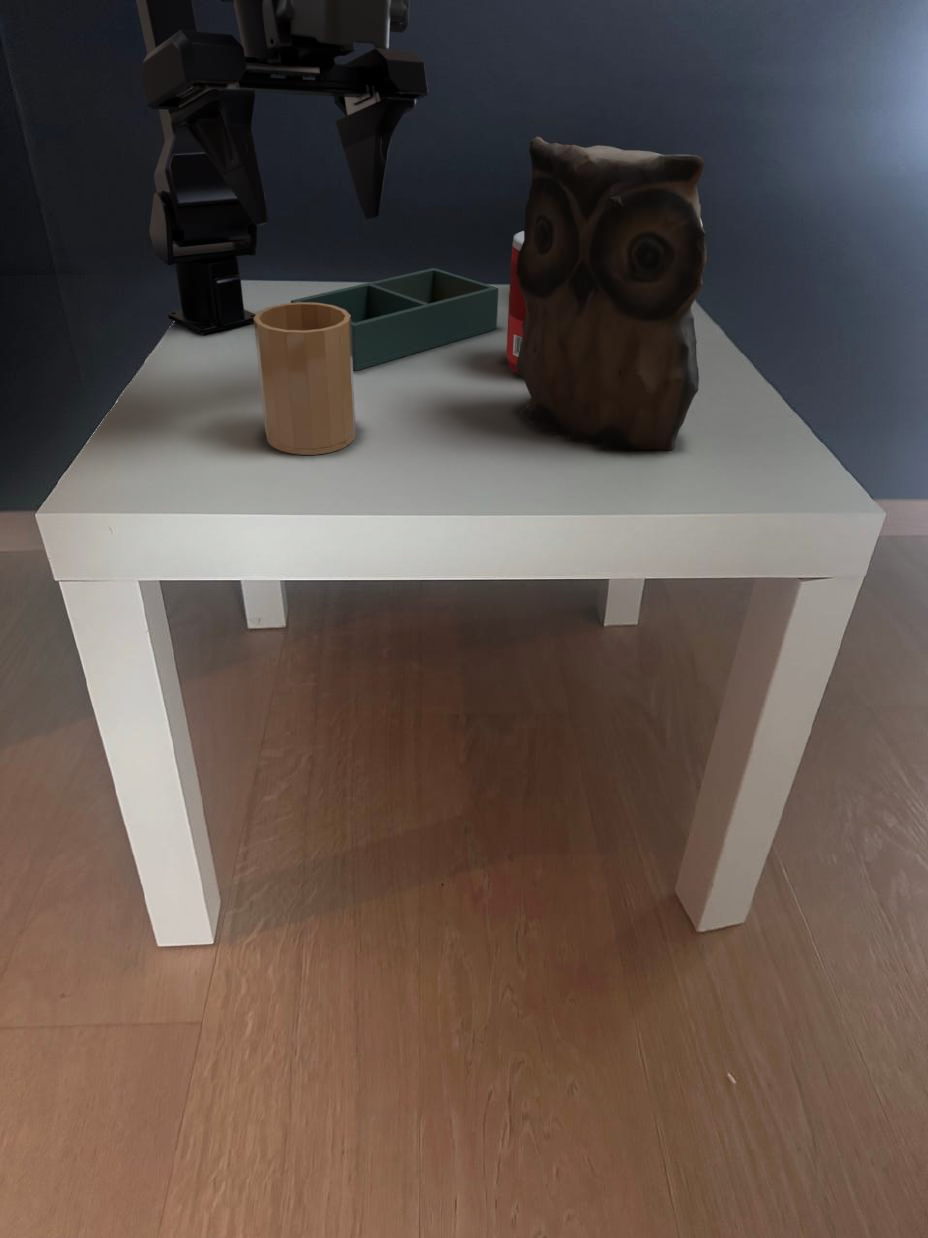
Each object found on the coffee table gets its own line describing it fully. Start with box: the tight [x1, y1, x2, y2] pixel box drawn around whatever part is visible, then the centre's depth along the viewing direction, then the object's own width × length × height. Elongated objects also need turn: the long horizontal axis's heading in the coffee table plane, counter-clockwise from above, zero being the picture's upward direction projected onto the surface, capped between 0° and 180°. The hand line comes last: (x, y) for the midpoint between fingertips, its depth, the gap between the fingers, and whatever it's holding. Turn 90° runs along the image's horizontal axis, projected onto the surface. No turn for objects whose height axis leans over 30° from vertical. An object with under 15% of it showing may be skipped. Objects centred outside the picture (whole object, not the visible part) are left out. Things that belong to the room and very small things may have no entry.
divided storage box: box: [290, 267, 499, 371], centre depth 87 cm, size 9×18×4 cm, turn 134°
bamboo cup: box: [253, 302, 356, 456], centre depth 67 cm, size 7×7×9 cm
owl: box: [516, 136, 707, 452], centre depth 67 cm, size 13×13×20 cm
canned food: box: [505, 230, 526, 375], centre depth 80 cm, size 8×8×11 cm
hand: (319, 220), depth 62 cm, fingers open, 9 cm apart
